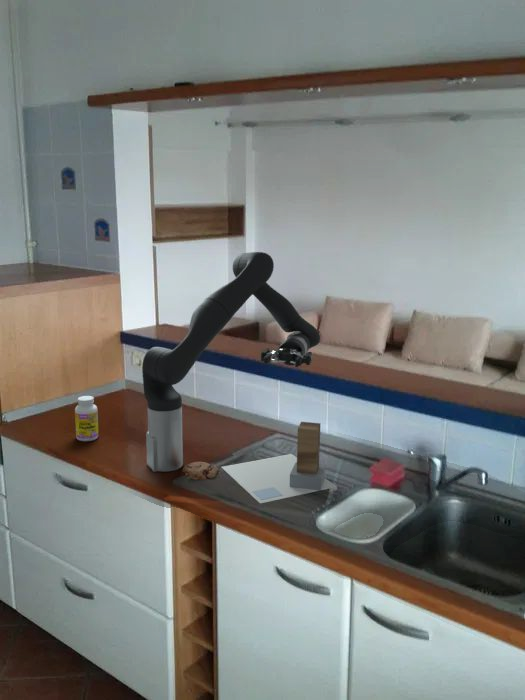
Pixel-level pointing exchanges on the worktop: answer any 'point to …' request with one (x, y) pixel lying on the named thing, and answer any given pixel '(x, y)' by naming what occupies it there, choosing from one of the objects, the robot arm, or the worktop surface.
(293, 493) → the base board
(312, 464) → the walnut pillar
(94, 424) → the supplement bottle
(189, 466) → the cookie
